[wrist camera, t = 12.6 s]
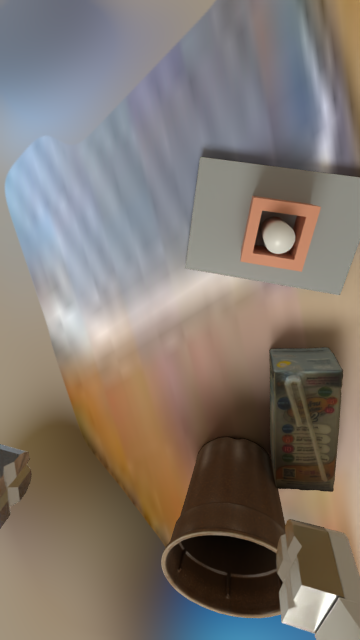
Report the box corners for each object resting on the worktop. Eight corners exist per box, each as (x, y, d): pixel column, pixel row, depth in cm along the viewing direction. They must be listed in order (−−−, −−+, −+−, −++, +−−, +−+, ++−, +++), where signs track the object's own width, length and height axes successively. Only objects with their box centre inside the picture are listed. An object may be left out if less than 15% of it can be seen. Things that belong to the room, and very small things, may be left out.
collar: (310, 203, 32) (321, 206, 28) (294, 260, 35) (301, 271, 30) (252, 195, 33) (253, 197, 28) (240, 251, 35) (240, 261, 31)
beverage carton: (333, 344, 39) (349, 373, 33) (325, 458, 46) (336, 498, 41) (268, 346, 41) (272, 373, 35) (269, 455, 48) (273, 493, 42)
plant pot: (241, 513, 54) (241, 634, 40) (166, 464, 53) (136, 570, 38) (309, 465, 47) (338, 590, 33) (224, 407, 46) (215, 510, 31)
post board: (376, 180, 31) (418, 179, 24) (336, 291, 36) (360, 319, 29) (201, 157, 33) (189, 150, 26) (186, 266, 38) (173, 285, 31)
